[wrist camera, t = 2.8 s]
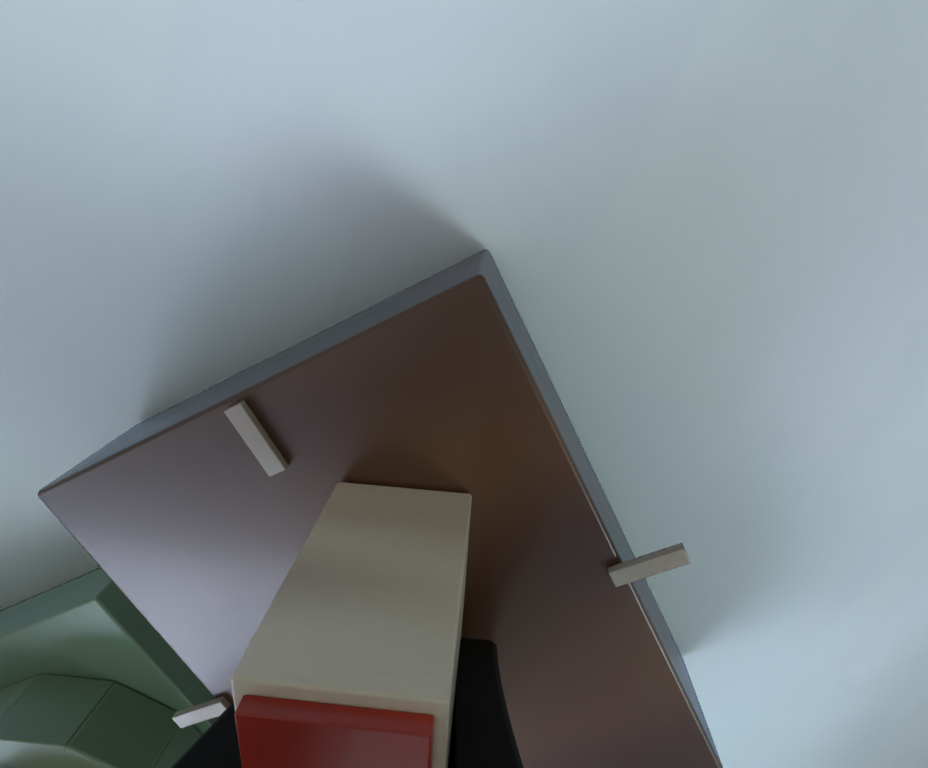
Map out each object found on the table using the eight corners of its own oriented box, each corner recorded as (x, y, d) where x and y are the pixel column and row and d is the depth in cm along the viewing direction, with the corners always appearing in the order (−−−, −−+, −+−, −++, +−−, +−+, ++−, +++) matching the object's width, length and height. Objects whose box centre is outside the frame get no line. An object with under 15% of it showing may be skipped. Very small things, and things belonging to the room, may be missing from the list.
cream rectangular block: (451, 774, 12) (424, 1063, 8) (347, 762, 12) (271, 1042, 8) (471, 492, 9) (448, 724, 5) (337, 480, 9) (216, 698, 6)
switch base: (723, 646, 14) (781, 771, 11) (350, 752, 17) (317, 875, 14) (537, 221, 11) (551, 240, 8) (101, 441, 13) (-15, 519, 10)
